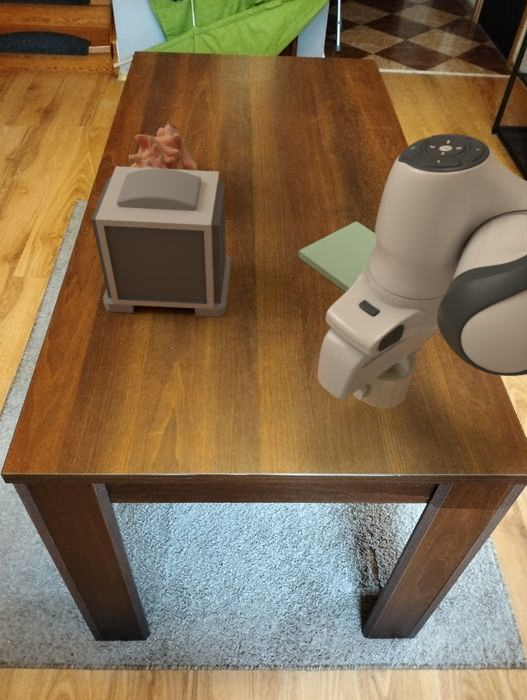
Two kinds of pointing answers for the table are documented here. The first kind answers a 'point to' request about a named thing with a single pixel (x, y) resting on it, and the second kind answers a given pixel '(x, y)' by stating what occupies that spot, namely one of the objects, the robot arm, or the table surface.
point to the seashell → (163, 151)
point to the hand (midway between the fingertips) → (382, 378)
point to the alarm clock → (163, 240)
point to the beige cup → (392, 384)
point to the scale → (341, 254)
